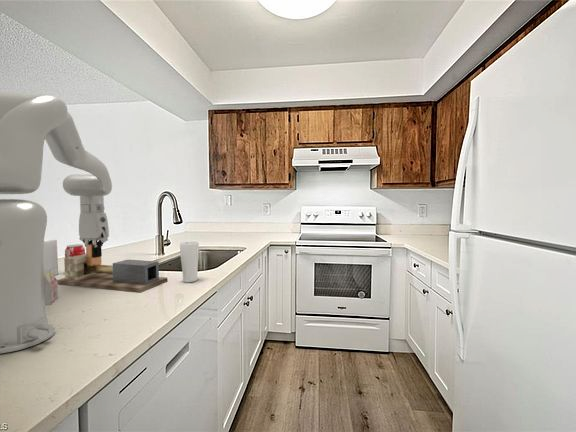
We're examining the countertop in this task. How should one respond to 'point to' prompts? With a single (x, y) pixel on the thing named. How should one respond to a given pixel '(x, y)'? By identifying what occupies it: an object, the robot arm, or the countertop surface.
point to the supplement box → (50, 255)
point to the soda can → (74, 250)
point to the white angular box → (50, 287)
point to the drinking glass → (189, 260)
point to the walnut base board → (109, 283)
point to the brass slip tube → (96, 263)
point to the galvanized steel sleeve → (136, 272)
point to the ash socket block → (77, 268)
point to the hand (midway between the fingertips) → (94, 256)
